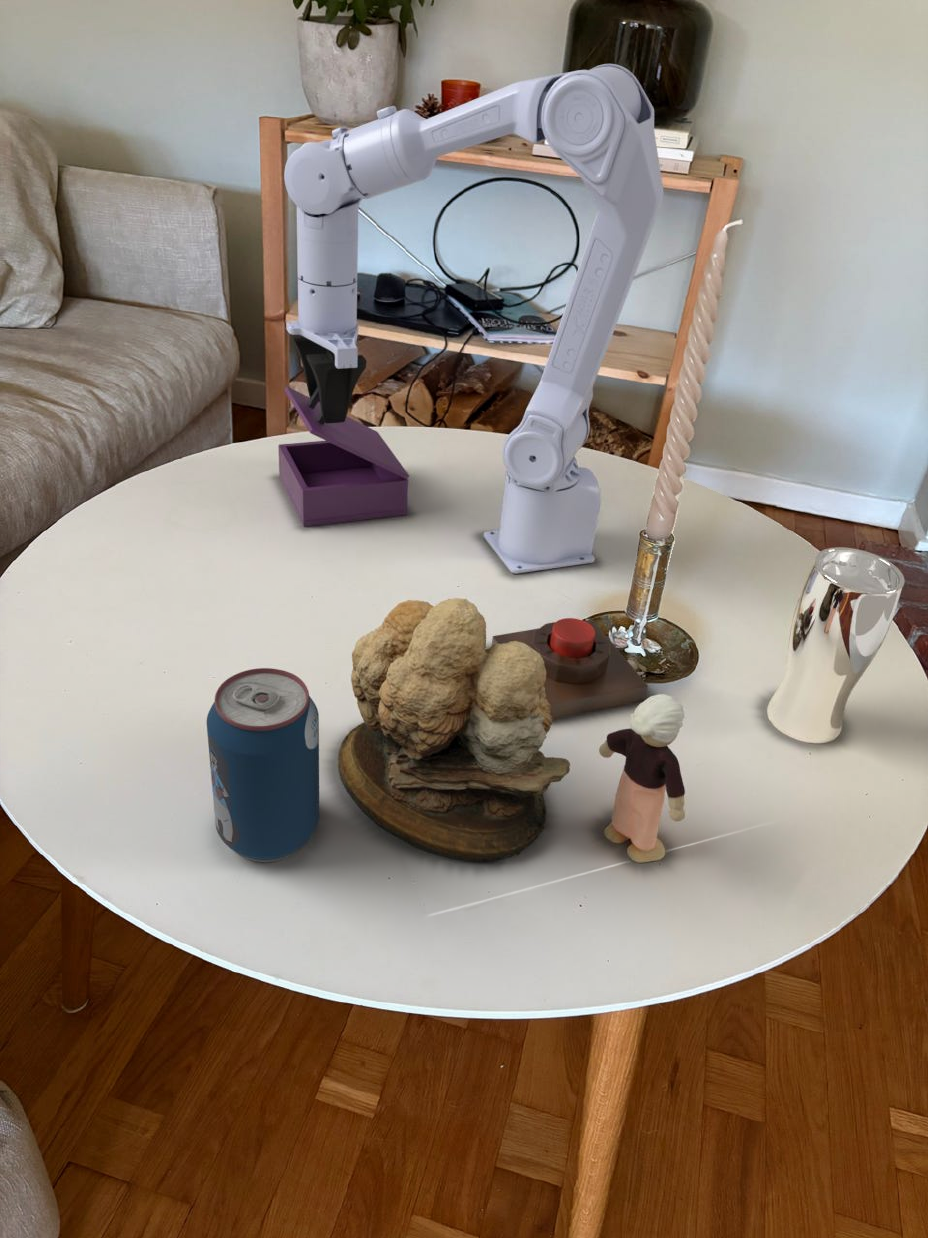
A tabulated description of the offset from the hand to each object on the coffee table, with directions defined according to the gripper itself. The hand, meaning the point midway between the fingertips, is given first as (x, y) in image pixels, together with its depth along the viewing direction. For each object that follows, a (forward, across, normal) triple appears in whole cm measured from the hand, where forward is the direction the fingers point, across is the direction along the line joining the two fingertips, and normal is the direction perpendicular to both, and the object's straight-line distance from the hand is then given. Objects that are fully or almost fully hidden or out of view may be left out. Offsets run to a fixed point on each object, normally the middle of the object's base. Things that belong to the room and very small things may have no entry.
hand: (327, 410), depth 100 cm
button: (+7, +36, +12) cm, 38 cm away
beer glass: (+10, +47, +29) cm, 56 cm away
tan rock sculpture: (+10, +46, -3) cm, 47 cm away
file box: (+10, 0, +2) cm, 10 cm away
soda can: (+10, +46, -16) cm, 50 cm away
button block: (+10, +36, +12) cm, 39 cm away
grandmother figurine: (+10, +54, +8) cm, 56 cm away
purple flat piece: (+3, 0, +2) cm, 3 cm away
